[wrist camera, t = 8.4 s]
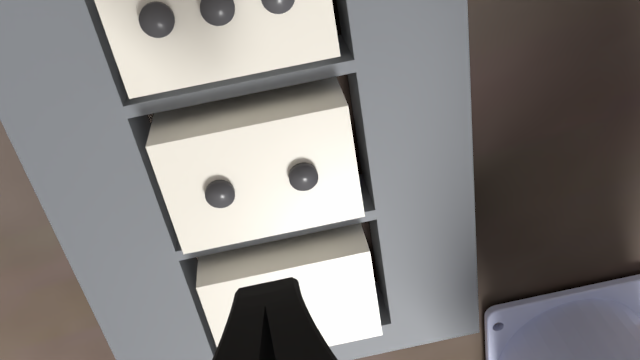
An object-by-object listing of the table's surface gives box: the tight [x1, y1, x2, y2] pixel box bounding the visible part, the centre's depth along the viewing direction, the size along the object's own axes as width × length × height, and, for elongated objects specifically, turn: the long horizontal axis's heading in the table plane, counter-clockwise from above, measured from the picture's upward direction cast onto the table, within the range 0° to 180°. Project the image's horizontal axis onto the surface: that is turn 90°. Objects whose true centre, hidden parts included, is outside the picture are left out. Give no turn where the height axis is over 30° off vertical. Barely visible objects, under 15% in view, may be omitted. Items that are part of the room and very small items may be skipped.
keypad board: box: [0, 0, 479, 360], centre depth 21 cm, size 19×14×2 cm
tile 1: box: [146, 77, 365, 254], centre depth 20 cm, size 4×6×4 cm, turn 99°
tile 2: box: [196, 223, 383, 347], centre depth 23 cm, size 4×6×4 cm, turn 99°
